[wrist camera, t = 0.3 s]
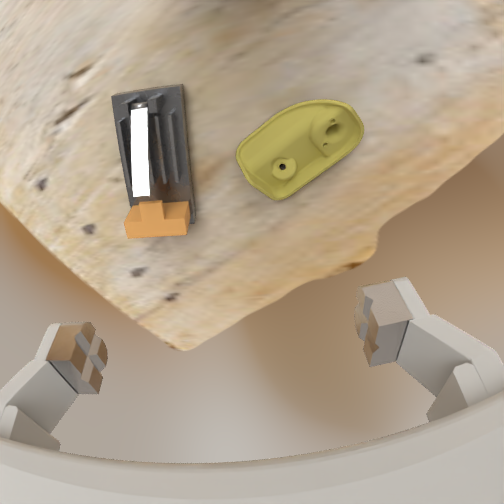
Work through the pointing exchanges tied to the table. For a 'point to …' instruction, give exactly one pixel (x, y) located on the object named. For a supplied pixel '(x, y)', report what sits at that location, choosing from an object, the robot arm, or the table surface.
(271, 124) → the plastic component
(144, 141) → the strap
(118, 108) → the heatsink
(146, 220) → the clip
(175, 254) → the table surface
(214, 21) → the table surface
